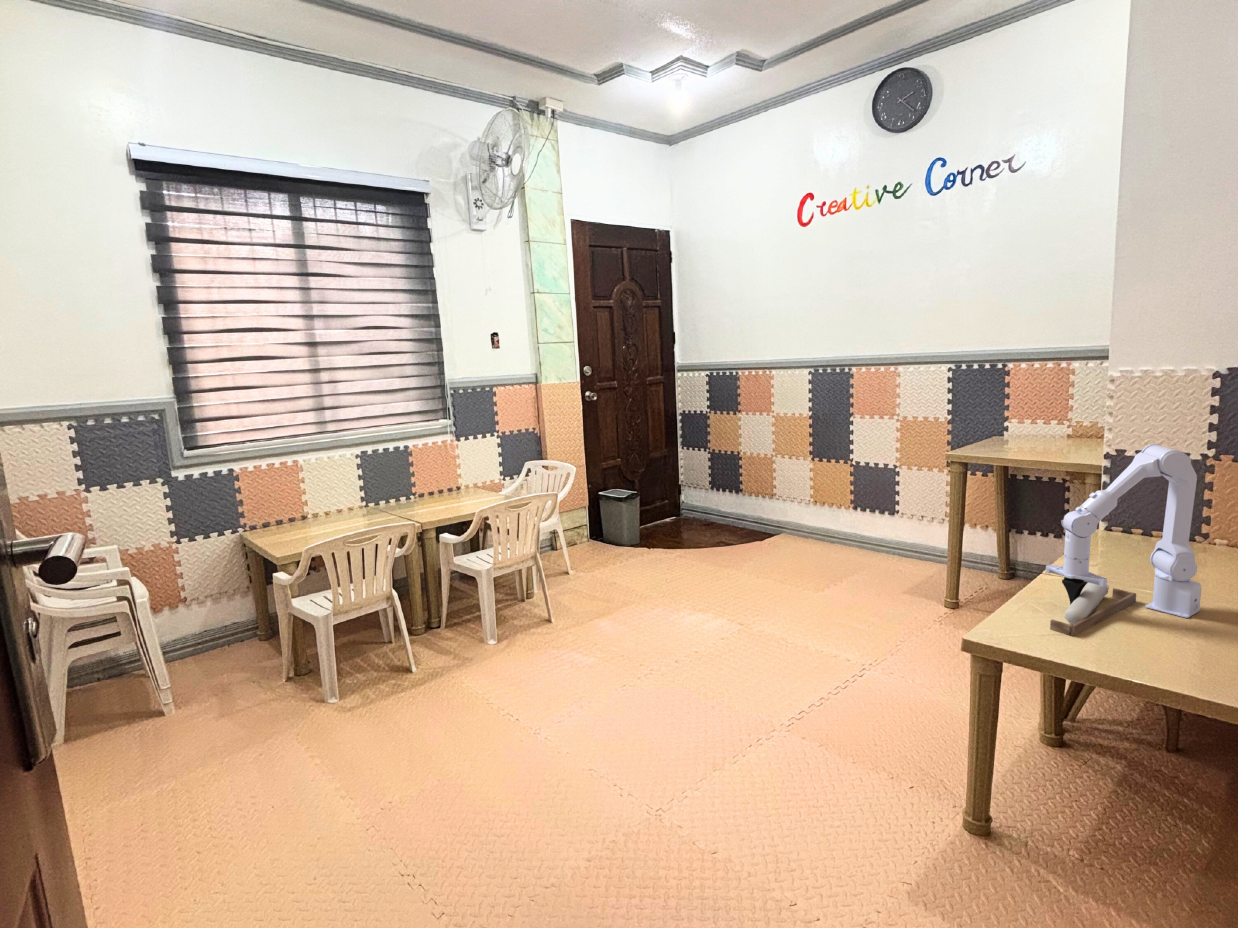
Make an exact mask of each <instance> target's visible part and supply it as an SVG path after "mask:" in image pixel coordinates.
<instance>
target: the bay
mask: <svg viewBox="0 0 1238 928" xmlns="http://www.w3.org/2000/svg"><path fill="white" fill-rule="evenodd" d="M1111 597H1112V598H1115V599H1118V600H1117V601H1114V602H1113V603H1110V604H1109V605H1107V606H1105V607H1103V608H1101V609H1099V610H1098V611H1096V612H1094V613H1093V612H1092V614H1091V615H1090V616H1088V617H1086V618H1084V619H1082V620H1080V621H1078V622H1076V623H1074V624H1070V623H1065V622H1062V621H1059V620H1057V619H1050V624H1049V625H1050V626H1049V627H1050V628H1049V629H1050V630H1051V631H1055V632H1057V633H1060V634H1063V633H1064V634H1065V635H1067V636H1070V637H1074V636H1076V635H1078V634H1080V633H1081V632H1083V631H1085V630H1087V629H1089V628H1091V627H1093V626H1095V625H1096V624H1098V623H1100V622H1102V621H1104V620H1106V619H1107V618H1110V617H1111V616H1113V615H1114V614H1117V613H1119V612H1120V611H1122V610H1124V609H1126V608H1127V607H1130V606H1131V605H1133V604H1135V603H1136V602H1137V593H1135V592H1132V591H1127V590H1123V589H1119V588H1116V587H1114V588H1112V595H1111ZM1077 633H1078V634H1077Z"/></svg>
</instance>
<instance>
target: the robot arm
mask: <svg viewBox="0 0 1238 928" xmlns="http://www.w3.org/2000/svg"><path fill="white" fill-rule="evenodd" d="M1162 476H1163V478H1165V479H1166V480H1167V481H1168V488H1167V497H1166V506H1165V512H1164V513H1165V514H1164V521H1163V531H1162V536H1161V539H1160V540H1159V541H1157V542H1156V543H1155V547H1154V550H1153V551H1152V552H1151V555H1150V556H1149V561H1150V564H1151V566H1152V567H1153V568H1154V580H1153V581H1154V582H1153V593H1152V601H1151V602H1149V603H1148V604H1145V608H1147V609H1151V610H1155V611H1159V612H1162V613H1166V614H1169V615H1174V616H1178V617H1182V618H1185V619H1187V618H1188V619H1189V618H1190V617H1191V616H1194V615H1195V614H1197V613H1199V612H1200V611H1201V608H1200V607H1201V597H1202V585H1201V583H1200V582H1198V581H1195V580H1193V577H1194V576H1195V575H1196V574H1197V571H1198V566H1197V563H1196V560H1195V558H1196V557H1195V556H1196V553H1195V552H1194V550H1193V548H1192V547H1191V545H1190V542H1189V541H1190V536H1191V535H1190V534H1191V527H1192V521H1193V520H1192V519H1193V512H1194V503H1195V497H1196V496H1195V495H1196V489H1197V481H1198V480H1197V479H1198V475H1197V473H1196V471H1195V469H1194V467H1193V464H1192V458H1191V457H1190V456H1189V455H1187V454H1186V453H1184V452H1183V451H1181V450H1177V449H1172V448H1169V447H1166V446H1163V445H1162V444H1161V445H1160V444H1158V443H1151V444H1148V445H1146V446H1145V447H1143V449H1142V450H1141V451H1140V452H1138V453H1137V454H1136V455H1134V458H1133V459H1132V462H1131V463H1130V464H1129V465H1128V466H1127V468H1125V469H1124V470H1123V471H1122V472H1121V473H1120V474H1119V475H1118V476H1117V478H1115V479H1114V481H1112V483H1110V484H1109V486H1107V488H1106V489H1102V490H1101V489H1100V490H1096V491H1095V492H1091V493H1090V494H1089V495H1088V496H1089V498H1087V499H1086V500H1085V501H1084V502H1083V503H1082V504H1080V506H1077V507H1076V508H1075V509H1074V510H1073V511H1069V512H1067V513H1066V514H1065V515H1064V517H1063V519H1062V520H1060V521H1061V522H1060V523H1061V526H1062V527H1063V528H1064V530H1065V532H1064V533H1065V537H1064V549H1063V566H1061V565H1055V564H1047V565H1045V573H1047V574H1054V575H1056V576H1057V575H1058V576H1062V577H1064V578H1063V579H1062V580H1061V583H1062V585H1063V587H1064V588H1065V591H1066V593H1067V595H1068V599H1069V606H1070V605H1071V604H1072V602H1073V601H1074V600H1075V599H1076V598H1077V597H1078V596H1079V595H1080V593H1081V592H1082V590H1083V589H1084V588H1085V587H1086V585H1087V583H1088V582H1089V583H1092V584H1096V585H1099V586H1100V587H1105V586H1106V585H1108V578H1107V577H1104V576H1101V575H1098V574H1095V573H1093V572H1090V571H1089V570H1090V558H1091V557H1090V556H1091V555H1090V554H1091V538H1092V535H1093V534H1095V533H1096V531H1097V529H1098V525H1099V523H1100V521H1102V520H1103V519H1104V518H1105V517H1106V516H1107V515H1108V514H1110V513H1111V512H1112V511H1113V510H1114V509H1115V508H1116V507H1117V506H1118V499H1119V498H1120V497H1122V496H1123V495H1124V494H1125V493H1126V492H1128V491H1129V490H1130V489H1131V488H1133V487H1135V485H1137V484H1139V482H1141V481H1142V480H1143V479H1145V478H1155V477H1162Z"/></svg>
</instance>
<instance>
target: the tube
mask: <svg viewBox="0 0 1238 928" xmlns="http://www.w3.org/2000/svg"><path fill="white" fill-rule="evenodd" d="M1109 588H1110V585H1109V584H1107V585H1106V586H1105V587H1100V586H1099V585H1096V584H1092V583H1089V582H1088V583H1087V584H1086V585H1085V587H1084V588H1083V590H1082V592H1081V593H1080V595H1079V596H1078V597H1077V598H1076V599H1075V600H1074V601H1073V602H1072V604H1071V605H1070V604H1069V606H1068V607H1067V608H1066V610H1065V612H1064V619H1065V620H1066V621H1067V623H1068V624H1069V625H1073V624H1074V623H1076V622H1078V621H1080V620H1082V619H1084V618H1086V617H1088V616H1090V615H1092V614H1093V612H1094V611H1095V610H1096V608H1097V607H1098V605H1099V604H1100V603H1101V602H1102V600H1103V599H1104V598H1105V596H1106V595H1108V594H1109Z"/></svg>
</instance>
